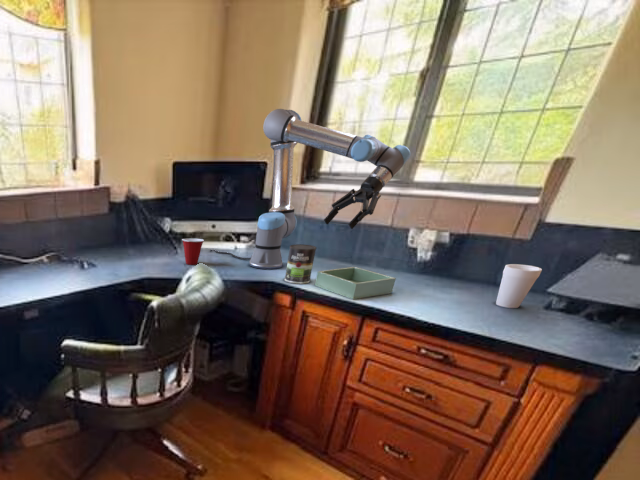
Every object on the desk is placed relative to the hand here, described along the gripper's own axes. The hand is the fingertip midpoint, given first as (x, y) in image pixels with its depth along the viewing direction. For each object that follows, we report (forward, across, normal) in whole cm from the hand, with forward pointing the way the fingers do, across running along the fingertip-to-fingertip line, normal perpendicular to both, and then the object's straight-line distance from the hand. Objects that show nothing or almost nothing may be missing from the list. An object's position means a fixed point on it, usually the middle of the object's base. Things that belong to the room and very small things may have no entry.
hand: (337, 224), depth 173 cm
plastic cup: (+45, +47, +14) cm, 67 cm away
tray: (+18, -19, -12) cm, 29 cm away
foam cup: (-5, -55, -36) cm, 66 cm away
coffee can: (+26, 0, -4) cm, 27 cm away
